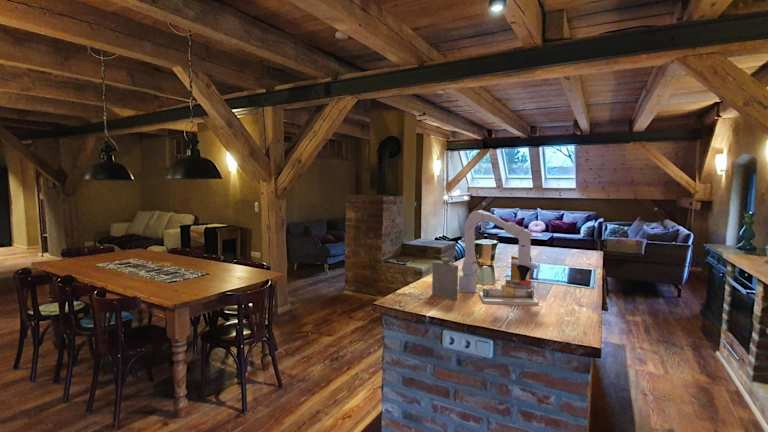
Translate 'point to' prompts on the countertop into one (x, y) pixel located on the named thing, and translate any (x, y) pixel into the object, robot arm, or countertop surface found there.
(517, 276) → the baking soda box
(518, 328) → the countertop surface
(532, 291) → the ball valve
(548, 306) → the countertop surface
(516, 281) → the valve lever
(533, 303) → the mounting board
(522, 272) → the robot arm
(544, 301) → the countertop surface
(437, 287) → the hip flask
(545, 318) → the countertop surface
